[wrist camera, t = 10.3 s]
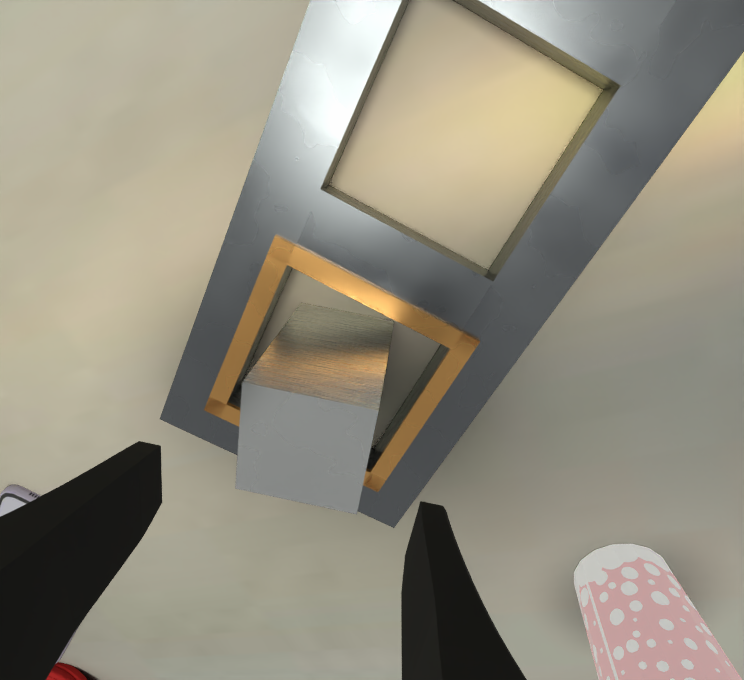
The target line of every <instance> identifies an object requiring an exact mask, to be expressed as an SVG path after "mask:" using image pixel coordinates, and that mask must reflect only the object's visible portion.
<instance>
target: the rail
mask: <svg viewBox="0 0 744 680" xmlns="http://www.w3.org/2000/svg"><path fill="white" fill-rule="evenodd" d="M454 1H455V2H457V3H459V4H460V5H462V6H464V7H465V8H467V9H469V10H470V11H472V12H474V13H475V14H477V15H479V16H481V17H482V18H484V19H486V20H487V21H489V22H491V23H492V24H494V25H496V26H497V27H499V28H501V29H502V30H504V31H506V32H507V33H509V34H511V35H512V36H514V37H516V38H518V39H519V40H521V41H523V42H524V43H526V44H528V45H529V46H531V47H533V48H534V49H536V50H538V51H539V52H541V53H543V54H544V55H546V56H548V57H549V58H551V59H553V60H555V61H556V62H558V63H560V64H561V65H563V66H565V67H566V68H568V69H570V70H571V71H573V72H575V73H576V74H578V75H580V76H581V77H583V78H585V79H586V80H588V81H590V82H592V83H593V84H595V85H597V86H598V87H600V88H602V89H603V92H602V93H601V95H600V96H599V98H598V99H597V101H596V103H595V104H594V106H593V107H592V109H591V110H590V112H589V114H588V115H587V117H586V118H585V120H584V121H583V123H582V124H581V126H580V128H579V129H578V131H577V132H576V134H575V135H574V137H573V139H572V140H571V142H570V143H569V145H568V146H567V148H566V150H565V151H564V153H563V154H562V156H561V157H560V159H559V161H558V162H557V164H556V165H555V167H554V168H553V170H552V171H551V173H550V175H549V176H548V178H547V179H546V181H545V182H544V184H543V186H542V187H541V189H540V190H539V192H538V193H537V195H536V197H535V198H534V200H533V201H532V203H531V204H530V206H529V208H528V209H527V211H526V212H525V214H524V215H523V217H522V218H521V220H520V222H519V223H518V225H517V226H516V228H515V229H514V231H513V233H512V234H511V236H510V237H509V239H508V240H507V242H506V244H505V245H504V247H503V248H502V250H501V251H500V253H499V255H498V256H497V258H496V259H495V261H494V262H493V264H492V265H491V267H490V269H489V270H486V269H484V268H482V267H481V266H479V265H477V264H475V263H473V262H471V261H469V260H468V259H466V258H464V257H462V256H460V255H458V254H456V253H454V252H453V251H451V250H449V249H447V248H445V247H443V246H441V245H440V244H438V243H436V242H434V241H432V240H430V239H428V238H426V237H425V236H423V235H421V234H419V233H417V232H415V231H413V230H412V229H410V228H408V227H406V226H404V225H402V224H400V223H398V222H397V221H395V220H393V219H391V218H389V217H387V216H385V215H384V214H382V213H380V212H378V211H376V210H374V209H372V208H370V207H369V206H367V205H365V204H363V203H361V202H359V201H357V200H356V199H354V198H352V197H350V196H348V195H346V194H344V193H342V192H341V191H339V190H337V189H335V188H333V187H331V186H329V182H330V180H331V178H332V176H333V173H334V171H335V169H336V167H337V164H338V162H339V160H340V157H341V155H342V153H343V151H344V148H345V146H346V144H347V141H348V139H349V137H350V135H351V132H352V130H353V128H354V125H355V123H356V121H357V119H358V116H359V114H360V112H361V109H362V107H363V105H364V103H365V100H366V98H367V96H368V94H369V91H370V89H371V87H372V84H373V82H374V80H375V78H376V75H377V73H378V71H379V68H380V66H381V64H382V62H383V59H384V57H385V55H386V52H387V50H388V48H389V46H390V43H391V41H392V39H393V36H394V34H395V32H396V30H397V27H398V25H399V23H400V21H401V18H402V16H403V14H404V11H405V9H406V7H407V5H408V2H409V0H310V3H309V5H308V8H307V11H306V14H305V17H304V19H303V22H302V25H301V28H300V30H299V33H298V36H297V39H296V42H295V44H294V47H293V50H292V53H291V56H290V58H289V61H288V64H287V67H286V69H285V72H284V75H283V78H282V81H281V83H280V86H279V89H278V92H277V94H276V97H275V100H274V103H273V106H272V108H271V111H270V114H269V117H268V119H267V122H266V125H265V128H264V131H263V133H262V136H261V139H260V142H259V144H258V147H257V150H256V153H255V156H254V158H253V161H252V164H251V167H250V170H249V172H248V175H247V178H246V181H245V183H244V186H243V189H242V192H241V195H240V197H239V200H238V203H237V206H236V208H235V211H234V214H233V217H232V220H231V222H230V225H229V228H228V231H227V233H226V236H225V239H224V242H223V245H222V247H221V250H220V253H219V256H218V258H217V261H216V264H215V267H214V270H213V272H212V275H211V278H210V281H209V284H208V286H207V289H206V292H205V295H204V297H203V300H202V303H201V306H200V309H199V311H198V314H197V317H196V320H195V322H194V325H193V328H192V331H191V334H190V336H189V339H188V342H187V345H186V347H185V350H184V353H183V356H182V359H181V361H180V364H179V367H178V370H177V373H176V375H175V378H174V381H173V384H172V386H171V389H170V392H169V395H168V398H167V400H166V403H165V406H164V409H163V411H162V414H161V417H160V419H161V420H163V421H165V422H167V423H169V424H171V425H174V426H176V427H178V428H180V429H182V430H184V431H186V432H189V433H191V434H193V435H195V436H197V437H199V438H202V439H204V440H206V441H208V442H210V443H212V444H214V445H217V446H219V447H221V448H223V449H225V450H227V451H229V452H232V453H234V454H236V455H238V439H239V424H240V408H241V393H242V386H241V383H242V381H243V379H244V376H245V374H246V372H247V370H248V367H249V365H250V363H251V360H252V358H253V356H254V354H255V351H256V349H257V347H258V344H259V342H260V340H261V338H262V335H263V333H264V331H265V328H266V326H267V324H268V322H269V319H270V317H271V315H272V313H273V310H274V308H275V306H276V303H277V301H278V299H279V297H280V294H281V292H282V290H283V287H284V285H285V283H286V281H287V278H288V276H289V274H290V271H291V269H292V268H294V269H296V270H298V271H300V272H302V273H304V274H306V275H308V276H309V277H311V278H313V279H315V280H317V281H319V282H321V283H323V284H325V285H327V286H329V287H331V288H333V289H335V290H337V291H339V292H341V293H343V294H345V295H347V296H348V297H350V298H352V299H354V300H356V301H358V302H360V303H362V304H364V305H366V306H368V307H370V308H372V309H374V310H376V311H378V312H380V313H382V314H384V315H386V316H387V317H389V318H391V319H393V320H395V321H397V322H399V323H401V324H403V325H405V326H407V327H409V328H411V329H413V330H415V331H417V332H419V333H421V334H423V335H425V336H426V337H428V338H430V339H432V340H434V341H436V342H438V343H440V344H441V345H440V347H439V349H438V350H437V352H436V353H435V355H434V356H433V358H432V360H431V361H430V363H429V364H428V366H427V367H426V369H425V370H424V372H423V374H422V375H421V377H420V378H419V380H418V381H417V383H416V385H415V386H414V388H413V389H412V391H411V392H410V394H409V396H408V397H407V399H406V400H405V402H404V403H403V405H402V407H401V408H400V410H399V411H398V413H397V414H396V416H395V417H394V419H393V421H392V422H391V424H390V425H389V427H388V428H387V430H386V432H385V433H384V435H383V436H382V438H381V439H380V441H379V443H378V444H377V446H376V447H375V449H372V448H371V449H370V454H369V458H368V463H367V468H366V473H365V477H364V482H363V487H362V491H361V496H360V501H359V506H358V510H357V511H359V512H361V513H363V514H365V515H367V516H369V517H372V518H374V519H376V520H378V521H380V522H382V523H384V524H387V525H389V526H391V527H393V528H394V527H395V526H396V524H397V523H398V522H399V520H400V519H401V518H402V516H403V515H404V513H405V512H406V511H407V509H408V508H409V507H410V505H411V504H412V503H413V501H414V500H415V499H416V497H417V496H418V494H419V493H420V492H421V490H422V489H423V488H424V486H425V485H426V484H427V482H428V481H429V479H430V478H431V477H432V475H433V474H434V473H435V471H436V470H437V469H438V467H439V466H440V464H441V463H442V462H443V460H444V459H445V458H446V456H447V455H448V454H449V452H450V451H451V449H452V448H453V447H454V445H455V444H456V443H457V441H458V440H459V439H460V437H461V436H462V434H463V433H464V432H465V430H466V429H467V428H468V426H469V425H470V424H471V422H472V421H473V419H474V418H475V417H476V415H477V414H478V413H479V411H480V410H481V409H482V407H483V406H484V405H485V403H486V402H487V400H488V399H489V398H490V396H491V395H492V394H493V392H494V391H495V390H496V388H497V387H498V385H499V384H500V383H501V381H502V380H503V379H504V377H505V376H506V375H507V373H508V372H509V370H510V369H511V368H512V366H513V365H514V364H515V362H516V361H517V360H518V358H519V357H520V355H521V354H522V353H523V351H524V350H525V349H526V347H527V346H528V345H529V343H530V342H531V340H532V339H533V338H534V336H535V335H536V334H537V332H538V331H539V330H540V328H541V327H542V325H543V324H544V323H545V321H546V320H547V319H548V317H549V316H550V315H551V313H552V312H553V311H554V309H555V308H556V306H557V305H558V304H559V302H560V301H561V300H562V298H563V297H564V296H565V294H566V293H567V291H568V290H569V289H570V287H571V286H572V285H573V283H574V282H575V281H576V279H577V278H578V276H579V275H580V274H581V272H582V271H583V270H584V268H585V267H586V266H587V264H588V263H589V261H590V260H591V259H592V257H593V256H594V255H595V253H596V252H597V251H598V249H599V248H600V246H601V245H602V244H603V242H604V241H605V240H606V238H607V237H608V236H609V234H610V233H611V231H612V230H613V229H614V227H615V226H616V225H617V223H618V222H619V221H620V219H621V218H622V216H623V215H624V214H625V212H626V211H627V210H628V208H629V207H630V206H631V204H632V203H633V202H634V200H635V199H636V197H637V196H638V195H639V193H640V192H641V191H642V189H643V188H644V187H645V185H646V184H647V182H648V181H649V180H650V178H651V177H652V176H653V174H654V173H655V172H656V170H657V169H658V167H659V166H660V165H661V163H662V162H663V161H664V159H665V158H666V157H667V155H668V154H669V152H670V151H671V150H672V148H673V147H674V146H675V144H676V143H677V142H678V140H679V139H680V137H681V136H682V135H683V133H684V132H685V131H686V129H687V128H688V127H689V125H690V124H691V122H692V121H693V120H694V118H695V117H696V116H697V114H698V113H699V112H700V110H701V109H702V108H703V106H704V105H705V103H706V102H707V101H708V99H709V98H710V97H711V95H712V94H713V93H714V91H715V90H716V88H717V87H718V86H719V84H720V83H721V82H722V80H723V79H724V78H725V76H726V75H727V73H728V72H729V71H730V69H731V68H732V67H733V65H734V64H735V63H736V61H737V60H738V58H739V57H740V56H741V54H742V53H743V52H744V0H454Z"/></svg>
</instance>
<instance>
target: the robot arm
mask: <svg viewBox="0 0 744 680" xmlns="http://www.w3.org/2000/svg"><path fill="white" fill-rule="evenodd" d="M161 503H162V479H161V446H159V445H155V444H150V443H145V442H140V441H139V442H137V443H135V444H133V445H131V446H130V447H128V448H126V449H124V450H123V451H121V452H119V453H118V454H116V455H114V456H112V457H111V458H109V459H107V460H106V461H104V462H102V463H100V464H99V465H97V466H95V467H94V468H92V469H90V470H88V471H86V472H85V473H83V474H81V475H79V476H78V477H76V478H74V479H72V480H71V481H69V482H67V483H65V484H63V485H62V486H60V487H58V488H56V489H54V490H52V491H50V492H48V493H46V494H44V495H42V496H41V497H39V498H37V499H35V500H33V501H31V502H29V503H27V504H25V505H23V506H21V507H19V508H17V509H15V510H13V511H11V512H9V513H7V514H5V515H3V516H0V680H46V679H47V677H48V675H49V674H50V672H51V670H52V669H53V667H54V665H55V664H56V662H57V660H58V659H59V657H60V655H61V654H62V652H63V650H64V649H65V647H66V645H67V644H68V642H69V640H70V639H71V637H72V636H73V634H74V632H75V631H76V629H77V628H78V626H79V625H80V624H81V622H82V621H83V619H84V618H85V616H86V615H87V613H88V612H89V611H90V609H91V608H92V606H93V605H94V604H95V602H96V601H97V600H98V598H99V597H100V596H101V594H102V593H103V591H104V590H105V589H106V587H107V586H108V585H109V583H110V582H111V580H112V579H113V578H114V576H115V575H116V574H117V572H118V571H119V570H120V568H121V567H122V565H123V564H124V563H125V561H126V560H127V558H128V557H129V556H130V554H131V553H132V552H133V550H134V549H135V547H136V546H137V545H138V543H139V542H140V540H141V539H142V537H143V536H144V534H145V532H146V531H147V529H148V527H149V525H150V524H151V522H152V520H153V518H154V516H155V514H156V513H157V511H158V509H159V507H160V505H161ZM402 680H527V679H526V678H525V676H524V675H523V673H522V671H521V670H520V668H519V667H518V665H517V663H516V662H515V660H514V659H513V657H512V655H511V654H510V652H509V650H508V649H507V647H506V645H505V643H504V642H503V640H502V638H501V636H500V635H499V633H498V631H497V629H496V627H495V626H494V624H493V622H492V620H491V618H490V616H489V614H488V612H487V610H486V608H485V606H484V604H483V602H482V600H481V598H480V596H479V594H478V592H477V590H476V587H475V585H474V583H473V581H472V578H471V576H470V574H469V571H468V569H467V567H466V565H465V562H464V560H463V557H462V555H461V552H460V550H459V547H458V545H457V542H456V539H455V536H454V534H453V531H452V528H451V525H450V522H449V519H448V515H447V512H446V510H445V508H444V507H443V506H440V505H436V504H431V503H426V502H422V501H421V502H420V505H419V509H418V512H417V516H416V519H415V523H414V526H413V530H412V533H411V537H410V540H409V544H408V547H407V551H406V554H405V563H404V573H403V583H402Z"/></svg>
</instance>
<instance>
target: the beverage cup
mask: <svg viewBox="0 0 744 680" xmlns="http://www.w3.org/2000/svg"><path fill="white" fill-rule="evenodd" d="M574 585H575V589H576V593H577V597H578V601H579V605H580V608H581V612H582V616H583V620H584V624H585V628H586V632H587V635H588V639H589V643H590V647H591V651H592V655H593V659H594V662H595V666H596V670H597V674H598V678H599V680H742V679H741V677H740V676H739V674H738V673H737V671H736V670H735V668H734V667H733V665H732V664H731V662H730V660H729V659H728V657H727V656H726V654H725V653H724V651H723V650H722V648H721V647H720V645H719V644H718V642H717V640H716V639H715V637H714V636H713V634H712V633H711V631H710V630H709V628H708V627H707V625H706V624H705V622H704V620H703V619H702V617H701V616H700V614H699V613H698V611H697V610H696V608H695V607H694V605H693V604H692V602H691V601H690V599H689V597H688V596H687V594H686V593H685V591H684V590H683V588H682V587H681V585H680V584H679V582H678V581H677V579H676V577H675V576H674V574H673V573H672V571H671V570H670V568H669V567H668V565H667V564H666V562H665V561H664V559H663V557H662V556H660V555H659V554H657V553H656V552H654V551H653V550H651V549H650V548H647V547H643V546H639V545H635V544H612V545H609V546H606V547H603V548H600V549H596V550H594V551H593V552H591V553H590V554H588V555H587V556H586V557H584V558H583V559H582V560H581V561H580V563H579V564H578V566H577V568H576V569H575V571H574Z"/></svg>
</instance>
